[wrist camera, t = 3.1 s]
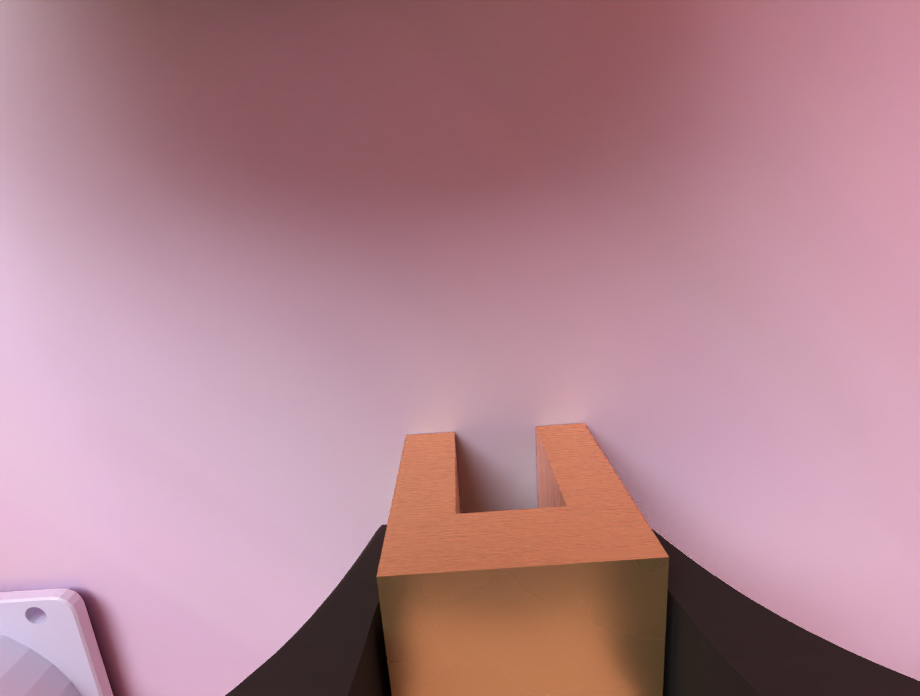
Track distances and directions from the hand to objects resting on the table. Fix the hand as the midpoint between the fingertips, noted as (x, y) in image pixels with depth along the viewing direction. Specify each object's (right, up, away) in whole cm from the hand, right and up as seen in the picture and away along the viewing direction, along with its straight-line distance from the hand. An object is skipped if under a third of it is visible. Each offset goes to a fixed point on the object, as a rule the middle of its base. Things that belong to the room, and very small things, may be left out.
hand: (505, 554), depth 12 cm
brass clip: (0, 0, +1) cm, 1 cm away
